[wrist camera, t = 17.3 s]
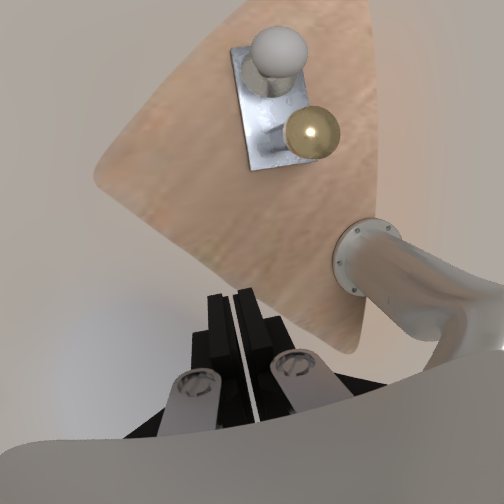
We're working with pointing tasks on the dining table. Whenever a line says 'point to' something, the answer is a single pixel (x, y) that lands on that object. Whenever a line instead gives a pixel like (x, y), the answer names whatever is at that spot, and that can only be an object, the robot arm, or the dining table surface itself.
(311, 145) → the brass knob
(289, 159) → the metal press stand
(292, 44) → the lightbulb
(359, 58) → the dining table surface
